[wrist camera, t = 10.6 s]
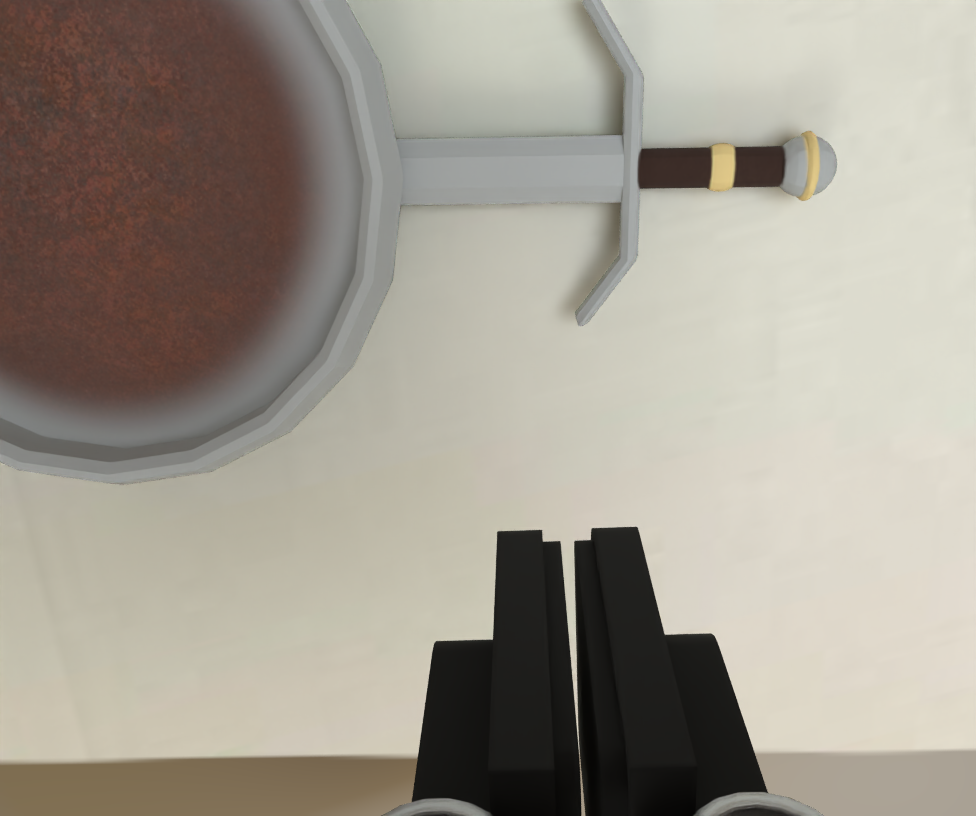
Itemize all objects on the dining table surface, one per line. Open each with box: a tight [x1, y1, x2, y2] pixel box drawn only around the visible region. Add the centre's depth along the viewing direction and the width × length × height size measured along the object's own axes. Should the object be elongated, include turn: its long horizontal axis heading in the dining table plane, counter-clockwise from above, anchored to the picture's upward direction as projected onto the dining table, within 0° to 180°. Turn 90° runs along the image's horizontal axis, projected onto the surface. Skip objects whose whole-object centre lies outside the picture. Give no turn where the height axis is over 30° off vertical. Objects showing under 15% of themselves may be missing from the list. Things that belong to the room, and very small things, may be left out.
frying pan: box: [0, 0, 837, 485], centre depth 24 cm, size 17×3×28 cm
